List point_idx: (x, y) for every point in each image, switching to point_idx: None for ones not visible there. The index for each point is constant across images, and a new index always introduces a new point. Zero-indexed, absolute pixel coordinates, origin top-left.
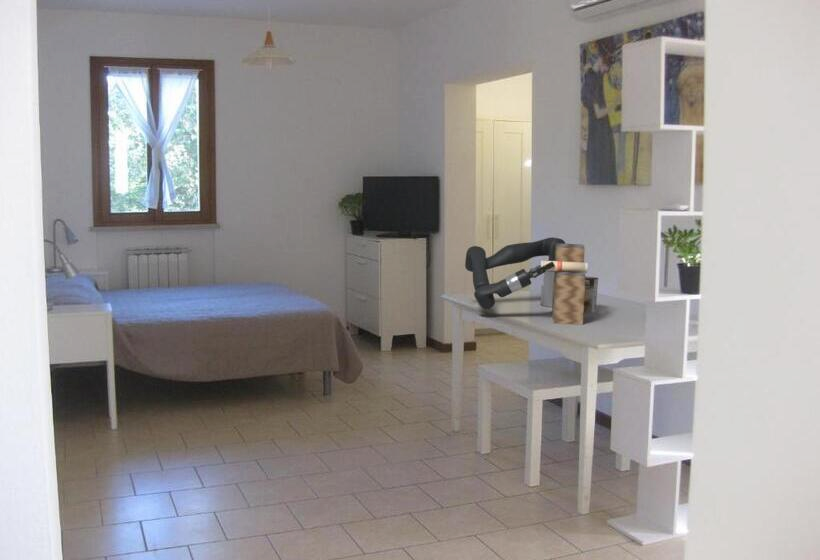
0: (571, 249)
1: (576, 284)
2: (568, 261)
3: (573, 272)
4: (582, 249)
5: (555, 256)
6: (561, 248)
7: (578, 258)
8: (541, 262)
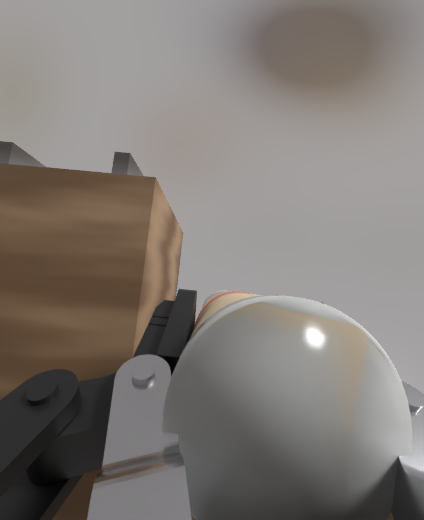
0: (173, 222)
1: None
2: (163, 290)
3: None
4: (181, 234)
5: (12, 251)
6: (162, 197)
7: (175, 273)
8: (373, 342)
